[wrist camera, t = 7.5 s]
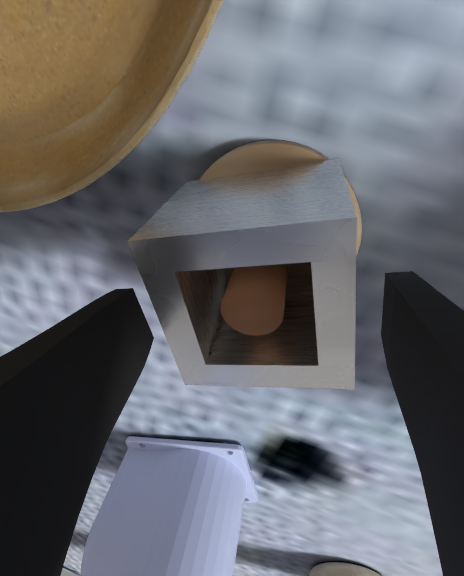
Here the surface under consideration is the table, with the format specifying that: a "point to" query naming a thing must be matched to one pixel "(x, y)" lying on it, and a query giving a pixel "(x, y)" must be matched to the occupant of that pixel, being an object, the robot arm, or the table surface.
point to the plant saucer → (86, 86)
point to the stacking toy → (341, 570)
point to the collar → (256, 252)
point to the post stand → (267, 278)
